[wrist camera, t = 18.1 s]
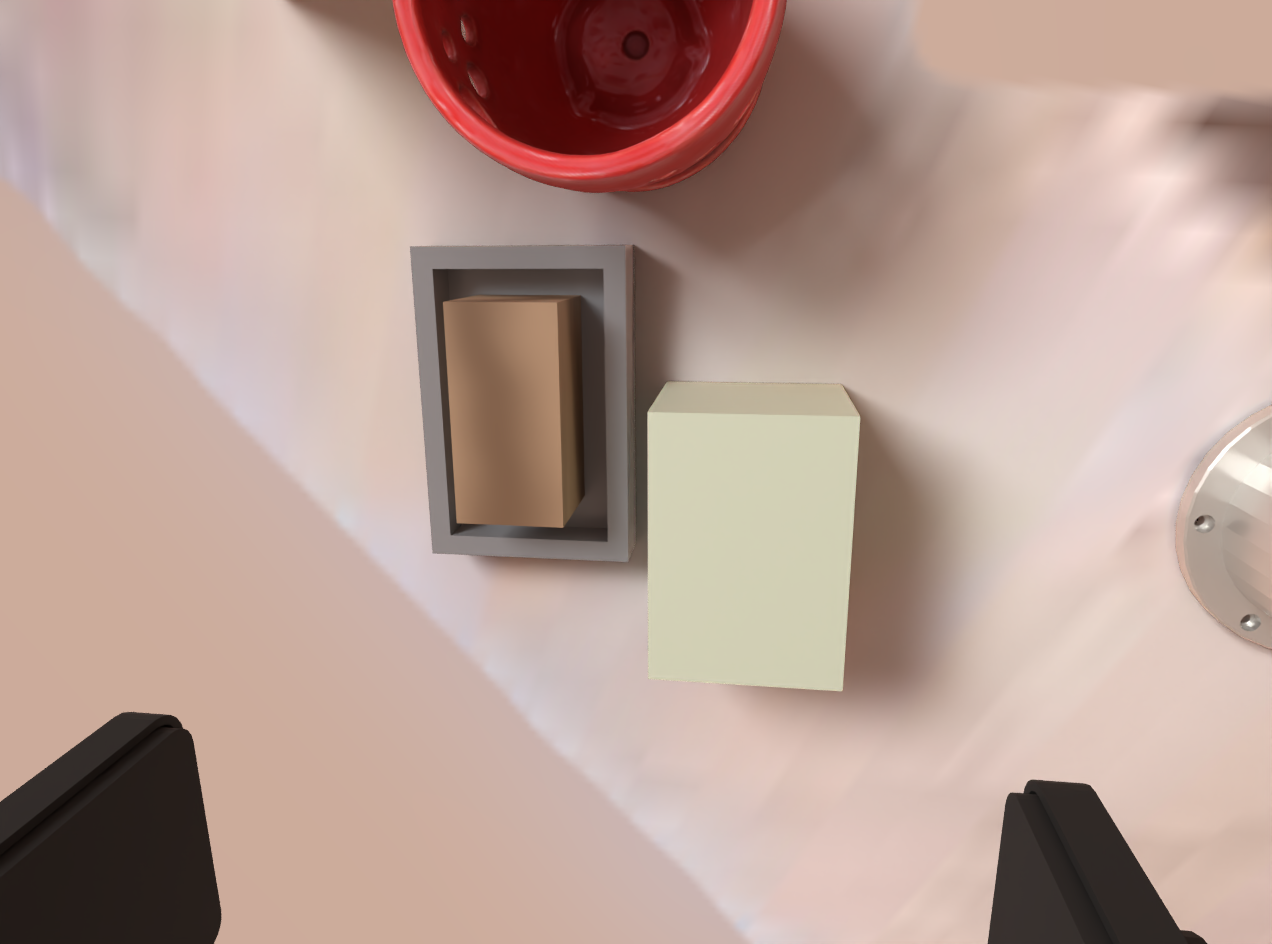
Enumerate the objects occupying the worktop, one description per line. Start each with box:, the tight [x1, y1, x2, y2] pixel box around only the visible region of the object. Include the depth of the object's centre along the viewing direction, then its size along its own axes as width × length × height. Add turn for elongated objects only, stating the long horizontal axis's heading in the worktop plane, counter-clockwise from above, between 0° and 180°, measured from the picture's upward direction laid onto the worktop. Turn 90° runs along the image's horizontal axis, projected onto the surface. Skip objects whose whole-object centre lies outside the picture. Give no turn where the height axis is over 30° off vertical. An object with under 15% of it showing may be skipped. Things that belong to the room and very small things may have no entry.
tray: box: [410, 245, 636, 562], centre depth 41 cm, size 10×15×3 cm, turn 0°
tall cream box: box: [647, 381, 860, 691], centre depth 39 cm, size 8×12×8 cm
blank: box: [443, 295, 585, 528], centre depth 40 cm, size 5×10×5 cm, turn 0°
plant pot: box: [392, 0, 787, 193], centre depth 32 cm, size 13×13×12 cm
